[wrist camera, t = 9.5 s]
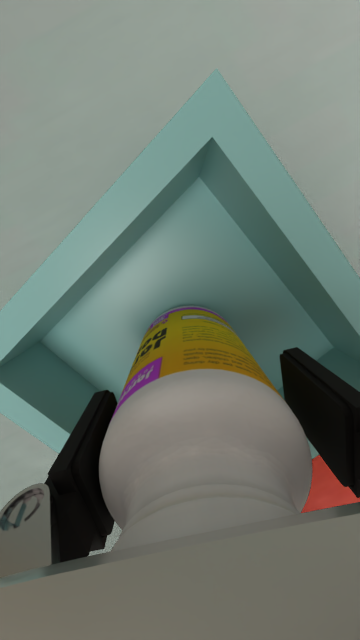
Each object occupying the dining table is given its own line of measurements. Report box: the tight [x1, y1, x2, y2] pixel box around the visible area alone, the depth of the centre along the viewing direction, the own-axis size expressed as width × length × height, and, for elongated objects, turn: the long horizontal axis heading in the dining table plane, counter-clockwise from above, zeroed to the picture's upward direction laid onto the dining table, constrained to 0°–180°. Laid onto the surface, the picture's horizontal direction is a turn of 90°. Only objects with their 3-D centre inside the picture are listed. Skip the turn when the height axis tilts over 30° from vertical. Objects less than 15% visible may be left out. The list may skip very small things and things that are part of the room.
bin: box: [0, 68, 360, 459], centre depth 14 cm, size 18×18×6 cm
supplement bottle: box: [99, 306, 312, 552], centre depth 10 cm, size 7×7×13 cm
